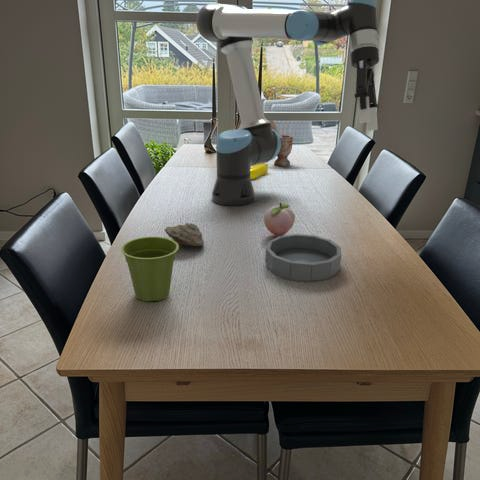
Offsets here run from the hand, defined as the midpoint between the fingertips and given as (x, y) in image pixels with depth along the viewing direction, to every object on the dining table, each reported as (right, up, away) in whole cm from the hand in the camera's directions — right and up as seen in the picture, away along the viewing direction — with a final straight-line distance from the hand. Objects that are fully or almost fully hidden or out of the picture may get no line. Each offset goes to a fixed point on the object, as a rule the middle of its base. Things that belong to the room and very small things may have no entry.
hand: (368, 126), depth 131 cm
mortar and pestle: (-19, +2, +82) cm, 84 cm away
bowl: (-21, -38, -15) cm, 46 cm away
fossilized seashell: (-52, -35, -7) cm, 62 cm away
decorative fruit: (-25, -31, +2) cm, 40 cm away
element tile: (-34, -5, +66) cm, 75 cm away
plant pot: (-55, -44, -30) cm, 76 cm away
